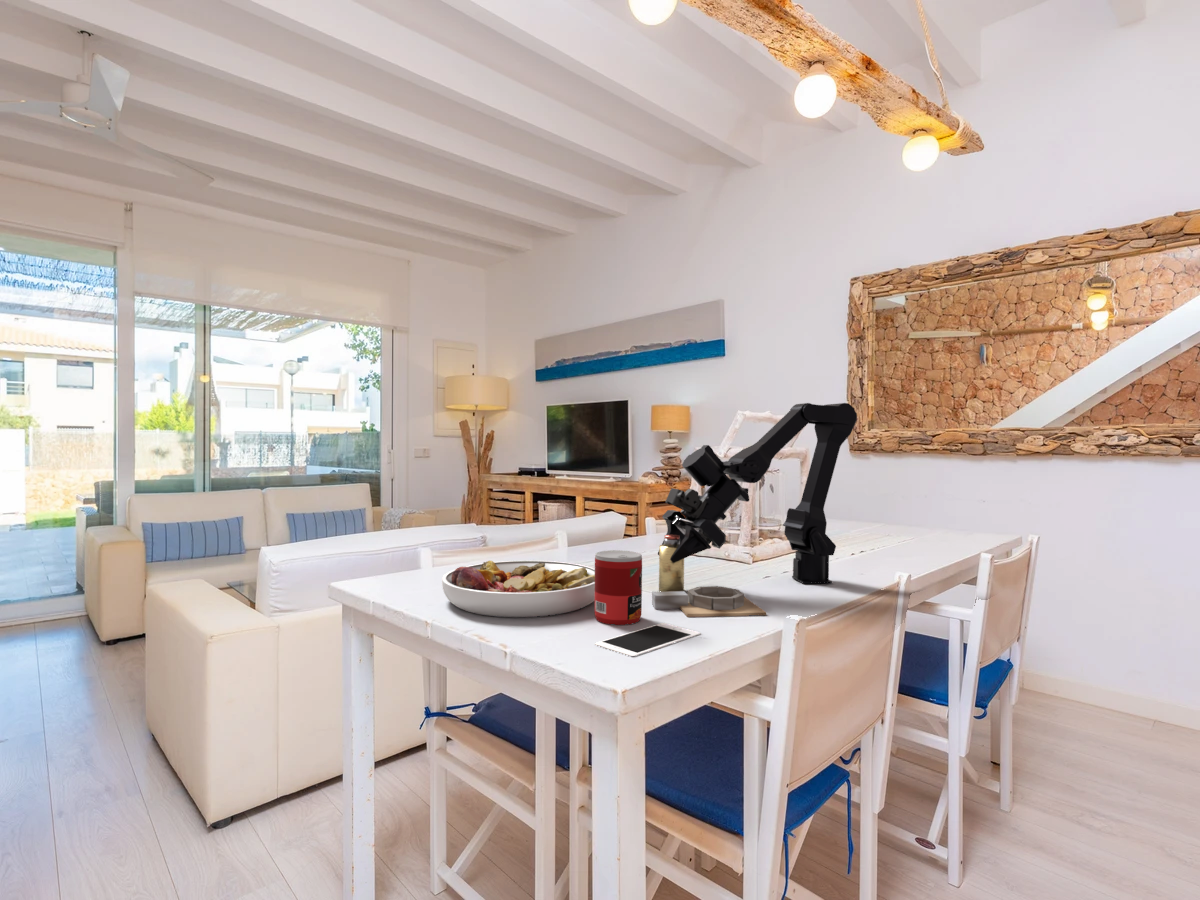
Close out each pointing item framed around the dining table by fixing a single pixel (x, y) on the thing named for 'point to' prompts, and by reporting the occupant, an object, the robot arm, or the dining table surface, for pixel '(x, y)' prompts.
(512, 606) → the bowl
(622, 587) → the canned food
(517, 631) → the dining table surface
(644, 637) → the cell phone
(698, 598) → the socket
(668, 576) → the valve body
